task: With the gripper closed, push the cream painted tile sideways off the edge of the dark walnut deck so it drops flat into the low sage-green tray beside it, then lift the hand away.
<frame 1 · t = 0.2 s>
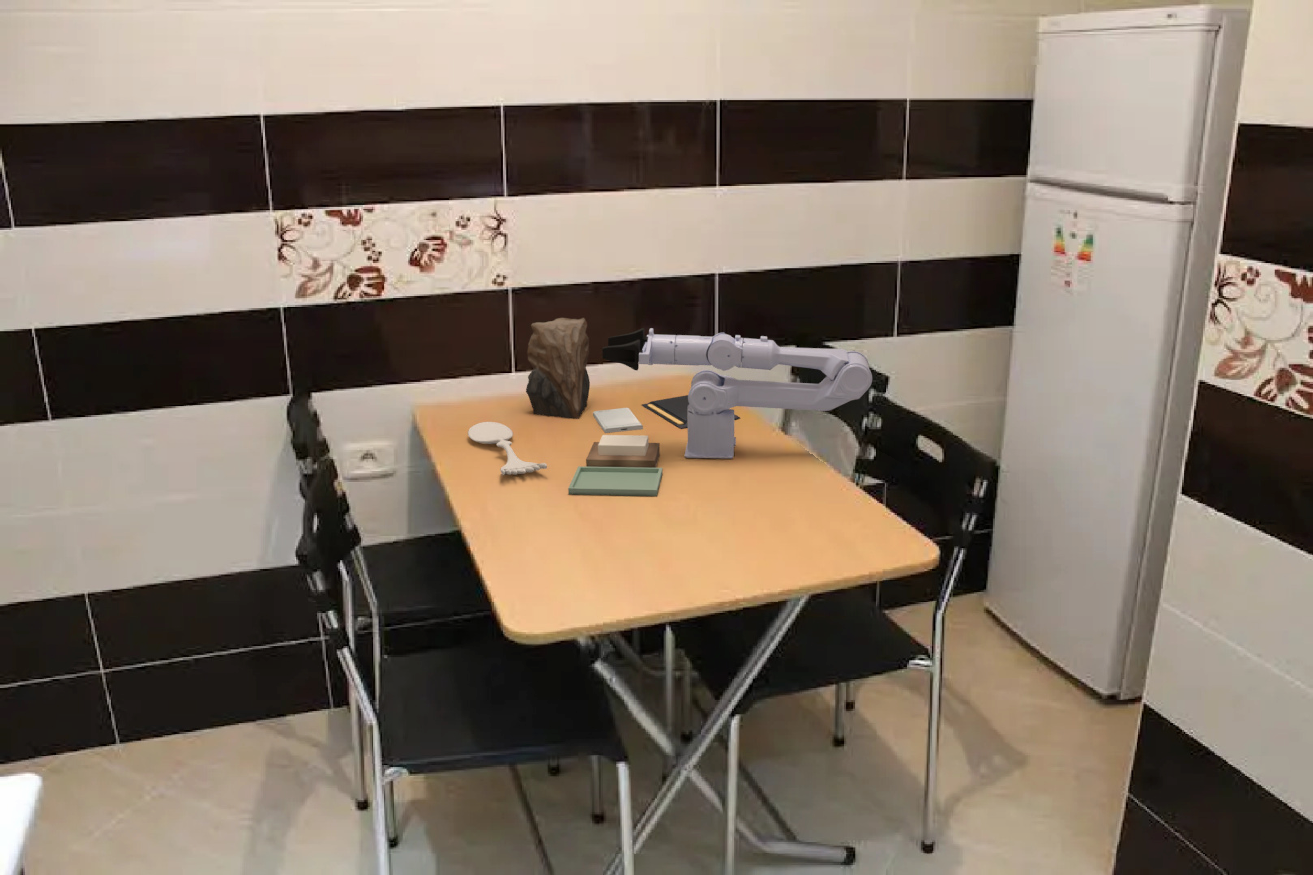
hand: (605, 347, 217), 21 cm above the table, tool horizontal, fingers open, 7 cm apart
tray: (616, 483, 207), on the table
deck: (623, 463, 217), on the table
hard drive: (617, 425, 241), on the table
tile: (623, 450, 216), point 2 cm above the table, touching deck
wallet: (689, 415, 247), on the table
brown rock: (563, 412, 249), on the table
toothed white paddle: (504, 457, 222), on the table
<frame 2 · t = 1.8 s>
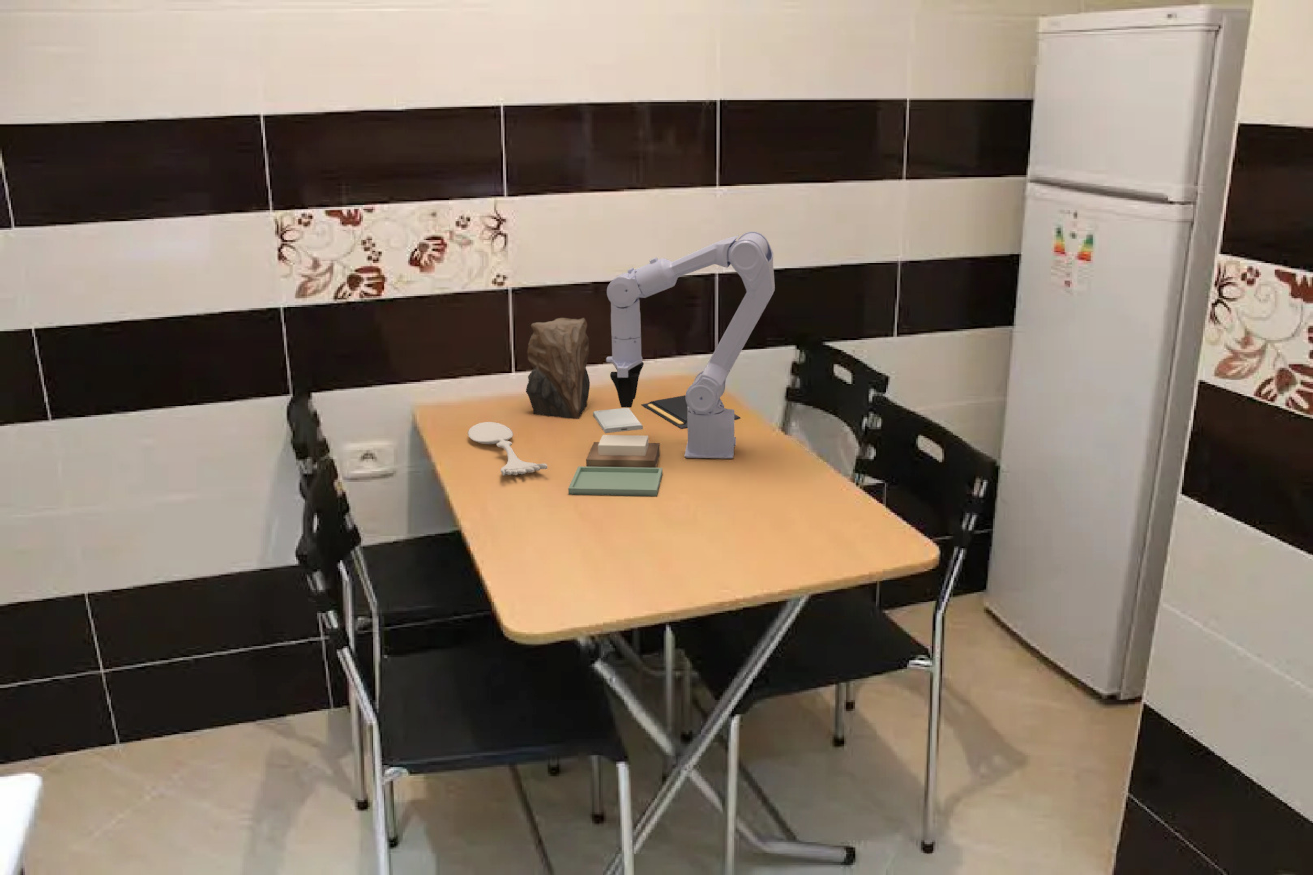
hand: (628, 402, 222), 9 cm above the table, tool pointing down, fingers open, 5 cm apart
nothing on the table moved.
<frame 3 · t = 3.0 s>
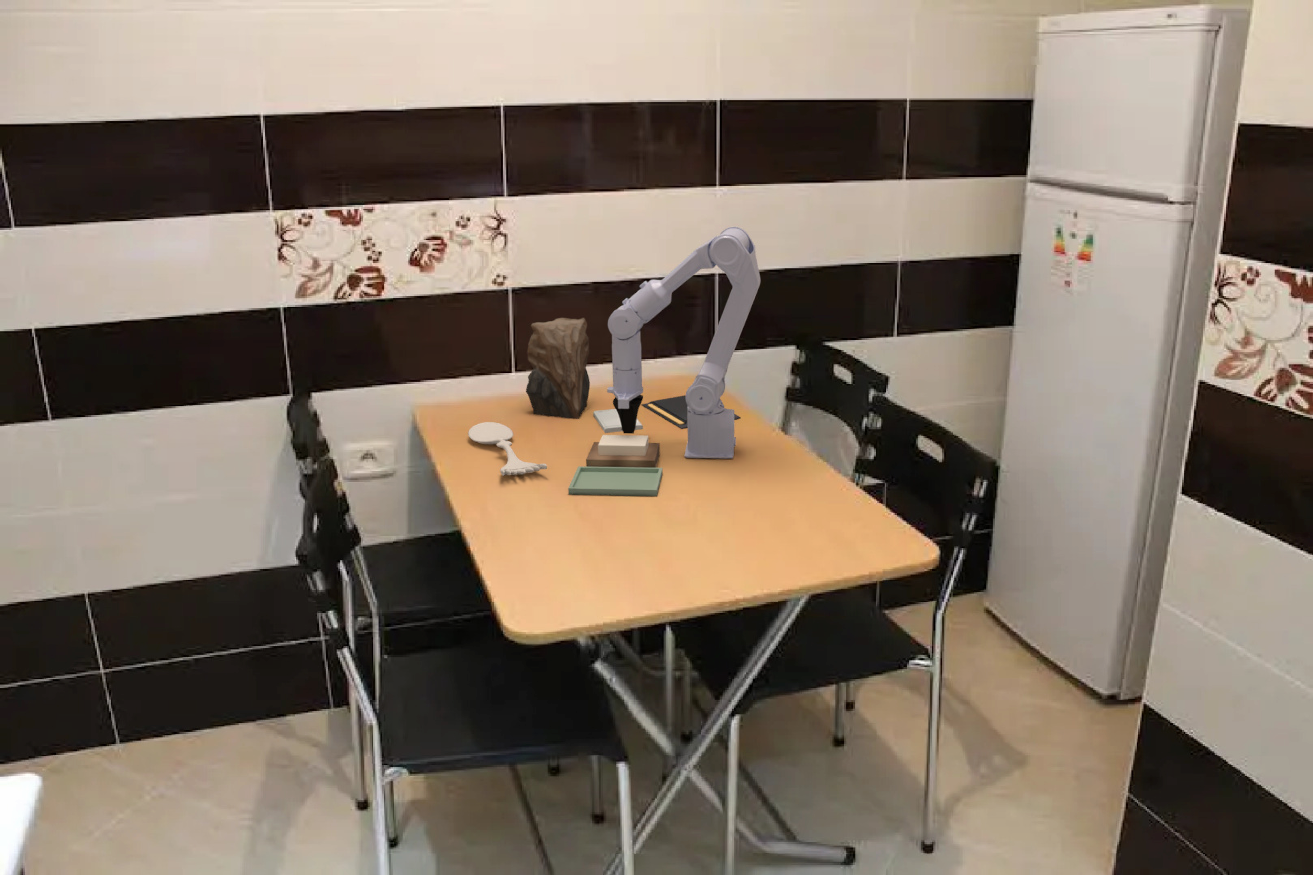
hand: (629, 432, 224), 3 cm above the table, tool pointing down, fingers closed
nothing on the table moved.
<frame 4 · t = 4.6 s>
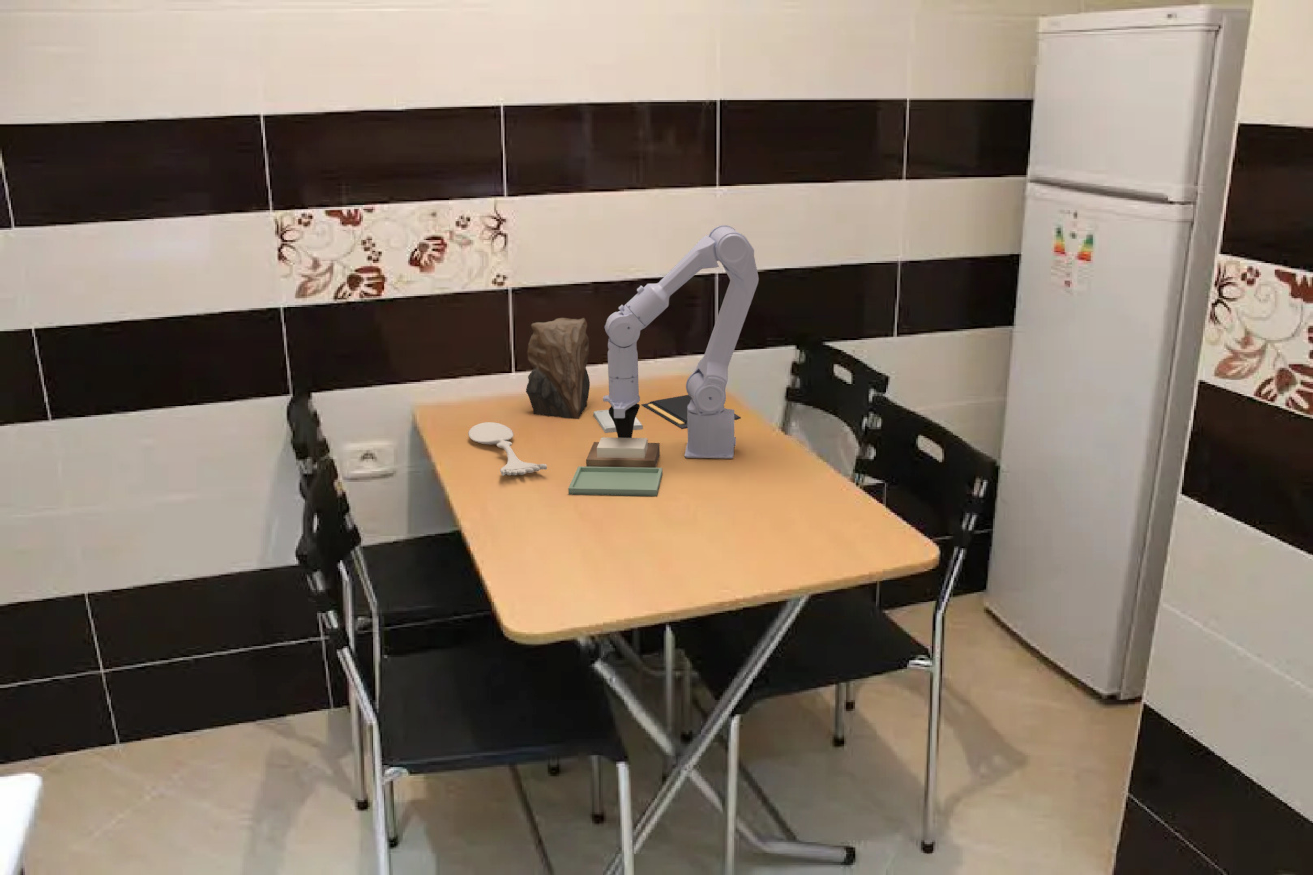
hand: (625, 442, 219), 3 cm above the table, tool pointing down, fingers closed
tile: (622, 452, 215), point 2 cm above the table, touching deck
everything else where it was.
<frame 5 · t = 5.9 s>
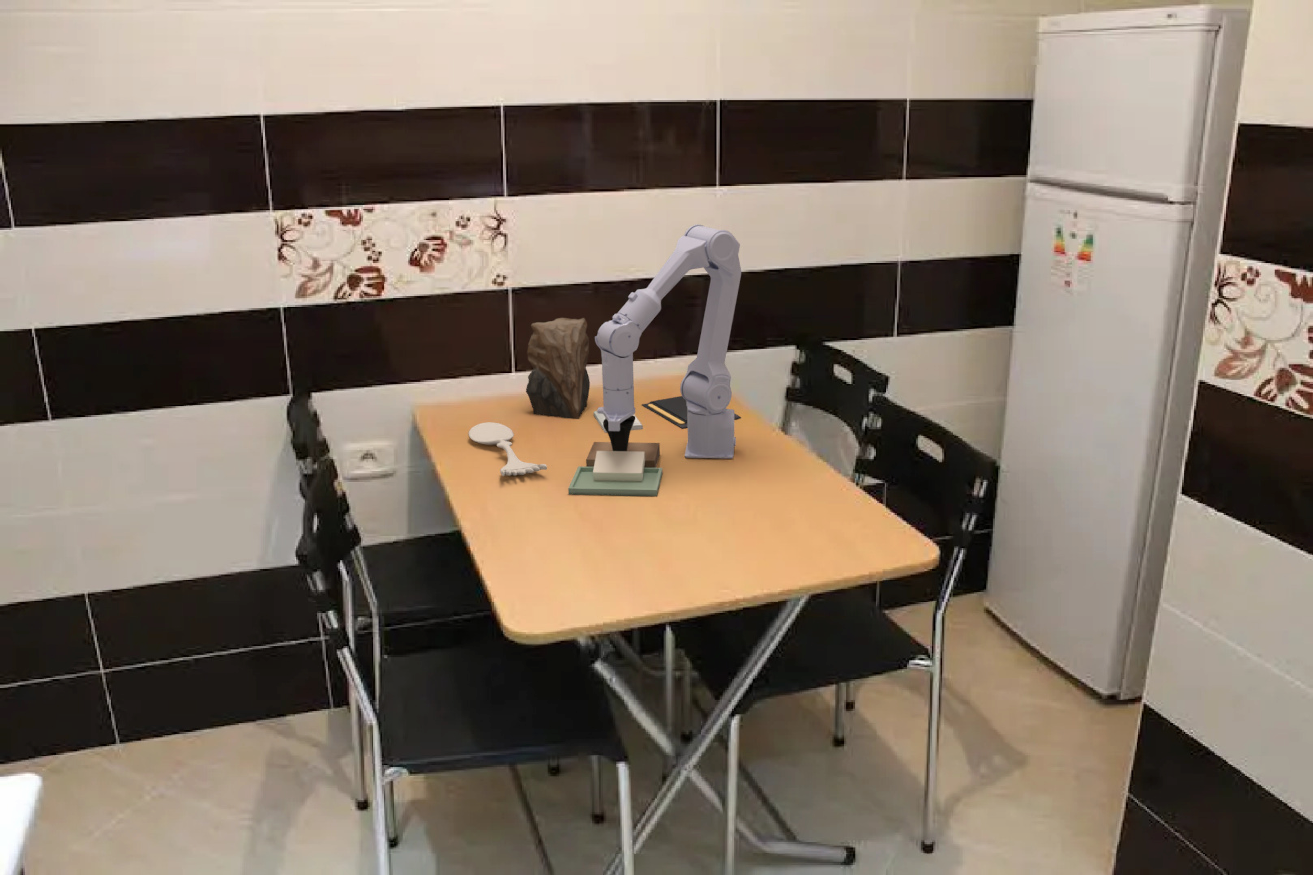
hand: (620, 455, 212), 3 cm above the table, tool pointing down, fingers closed
tile: (619, 469, 209), point 1 cm above the table, tilted 21°, touching gripper
everything else where it was.
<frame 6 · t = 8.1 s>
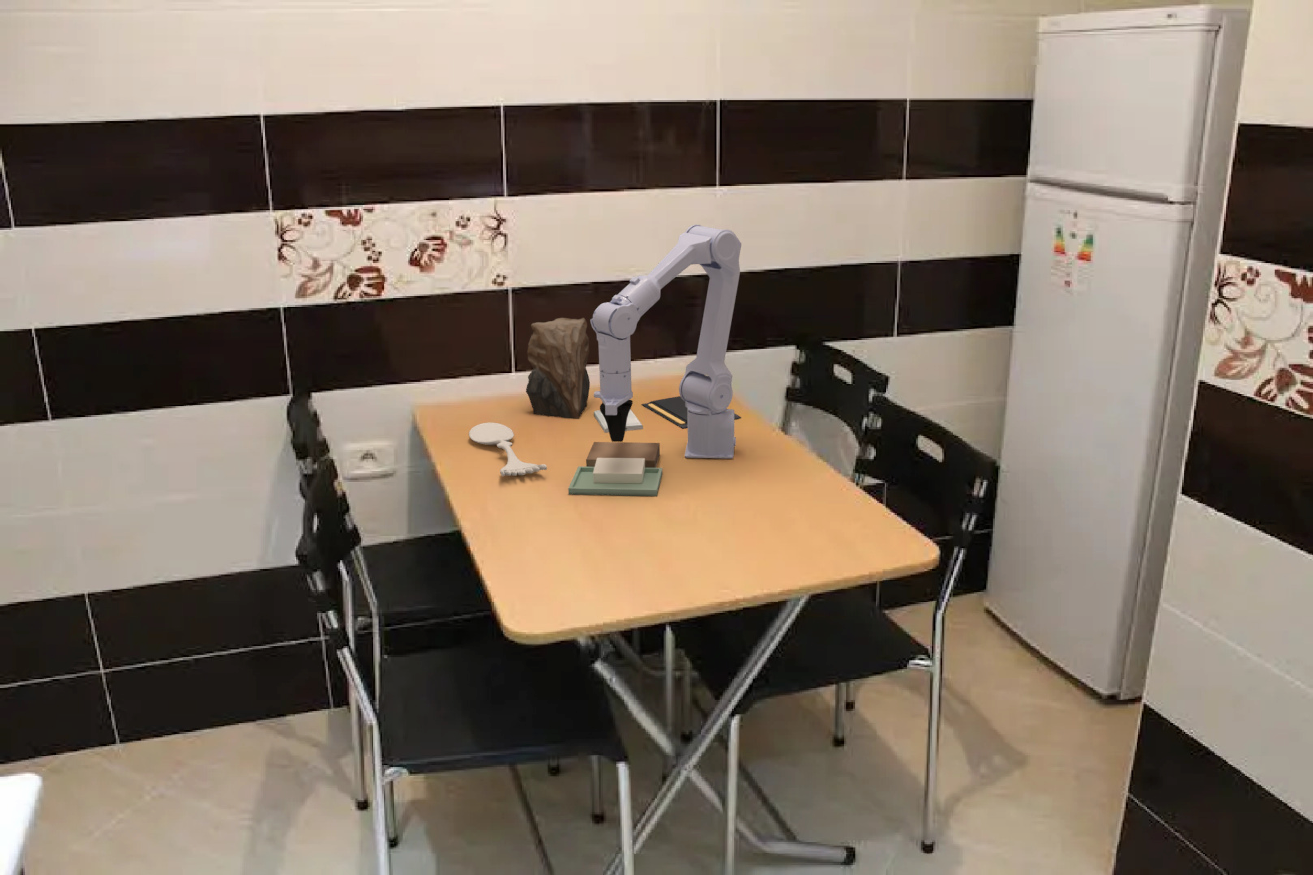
hand: (617, 440, 207), 7 cm above the table, tool pointing down, fingers closed
tile: (619, 475, 208), point 1 cm above the table, tilted 8°, touching tray
everything else where it was.
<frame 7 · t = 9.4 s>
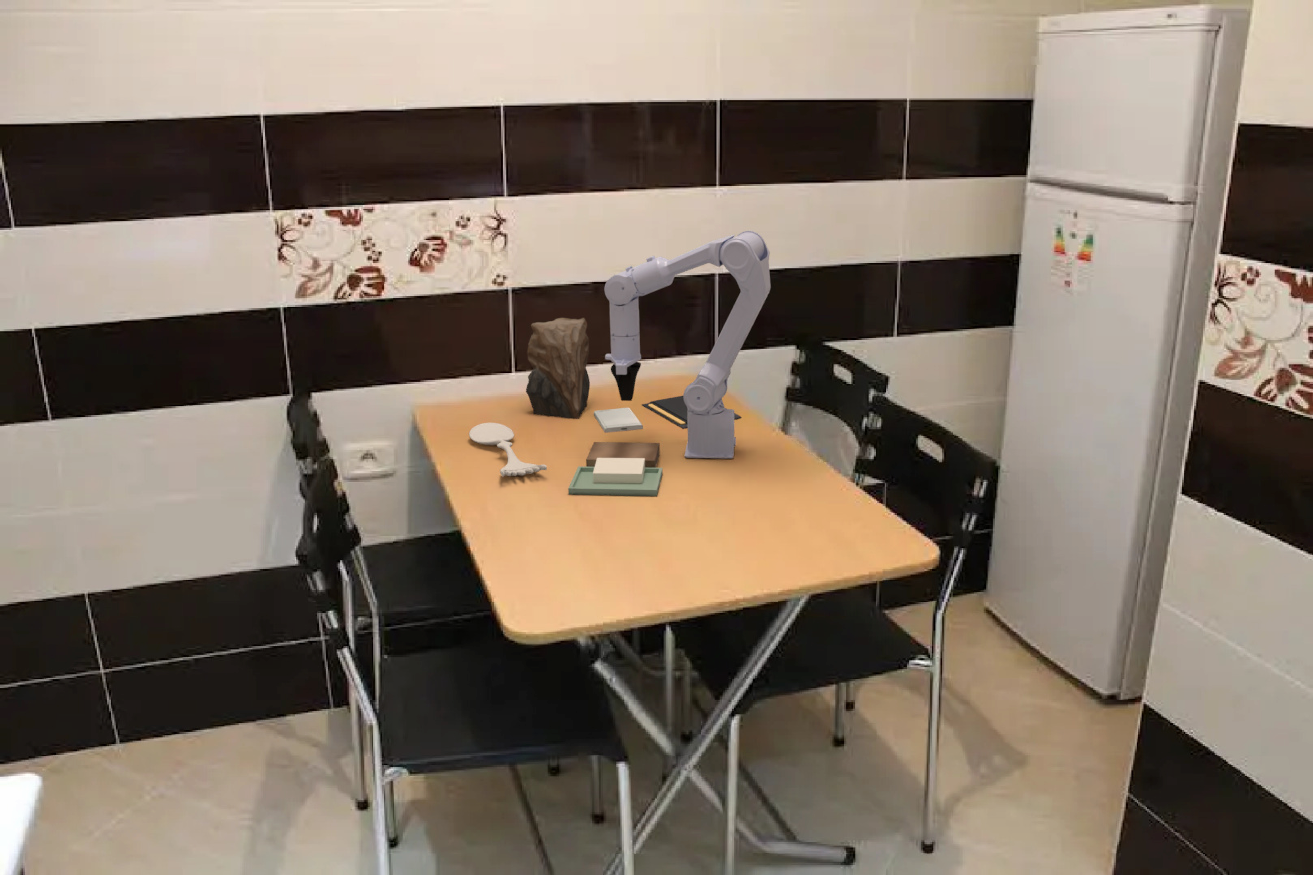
hand: (626, 399, 224), 9 cm above the table, tool pointing down, fingers closed
nothing on the table moved.
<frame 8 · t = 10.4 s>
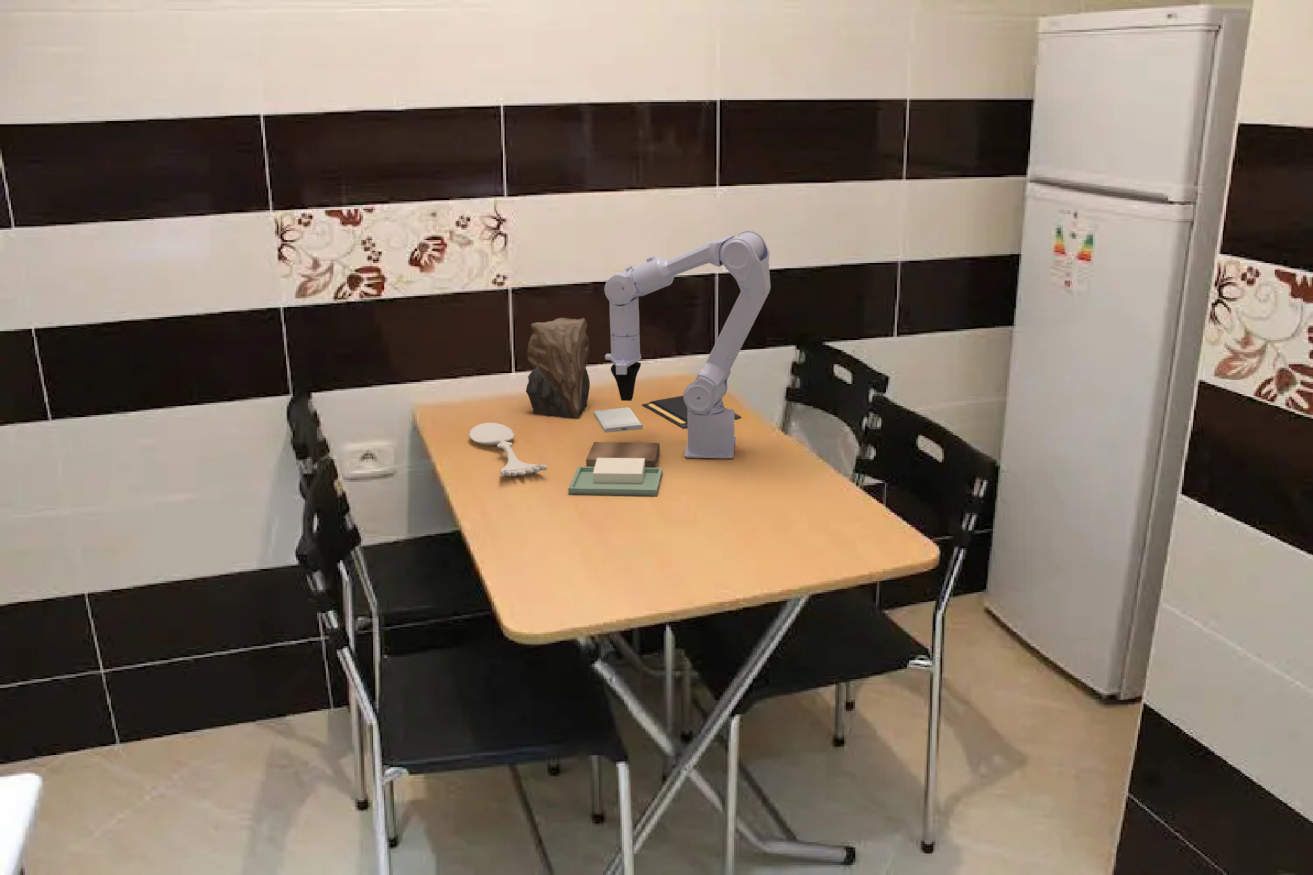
hand: (626, 399, 224), 9 cm above the table, tool pointing down, fingers closed
nothing on the table moved.
at the end: tile inside the target area on the tray (2.4 cm from its centre), point 0.8 cm above the tray's base; tile tilted 8°; the gripper is holding nothing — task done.
